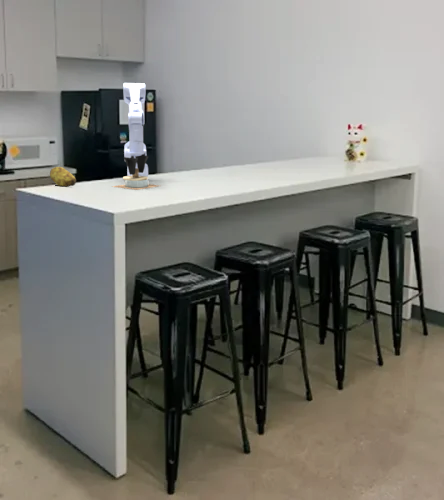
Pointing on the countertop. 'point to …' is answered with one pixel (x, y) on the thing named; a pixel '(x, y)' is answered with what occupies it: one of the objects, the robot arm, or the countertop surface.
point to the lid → (135, 176)
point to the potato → (62, 177)
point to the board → (136, 188)
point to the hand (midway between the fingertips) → (136, 173)
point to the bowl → (136, 183)
